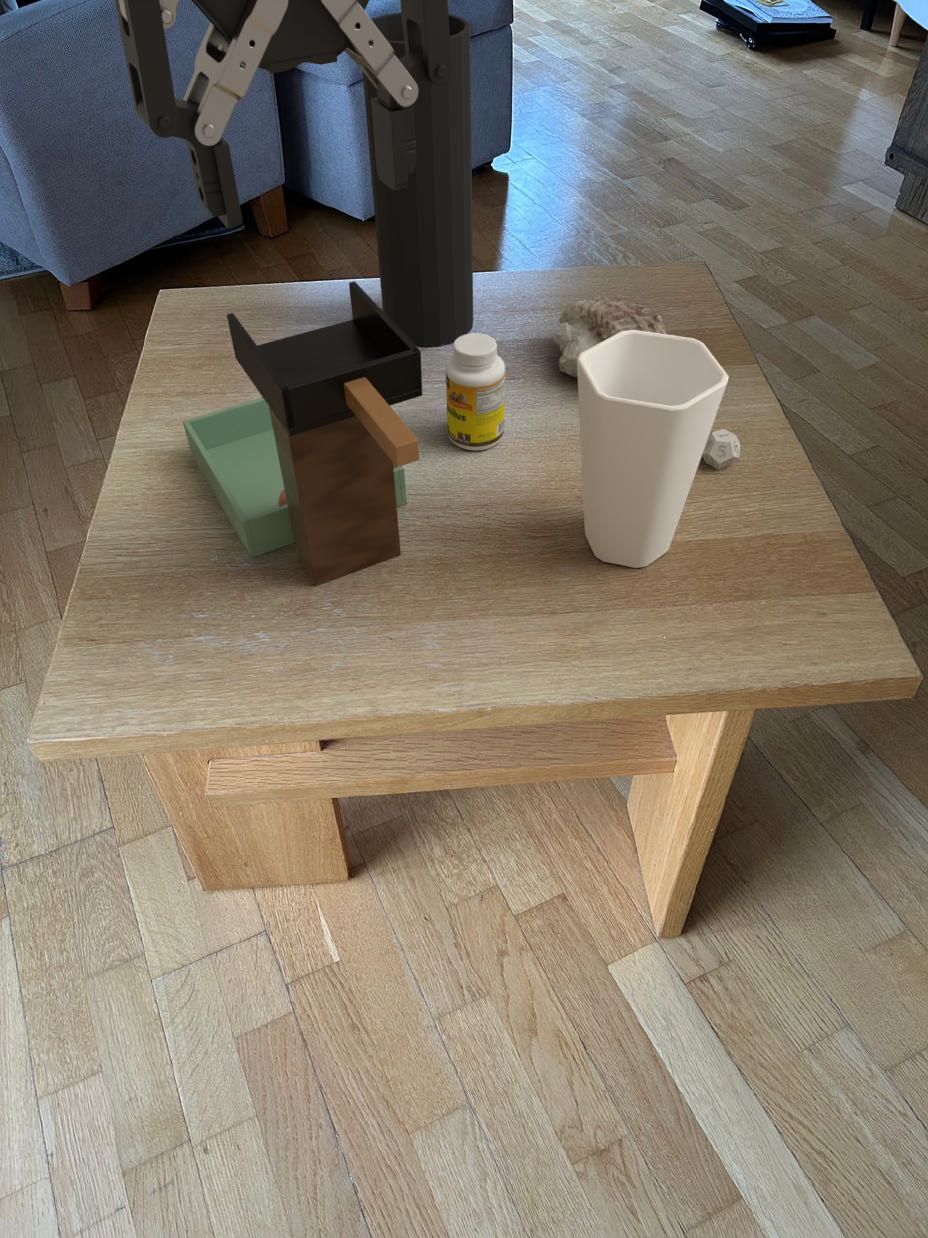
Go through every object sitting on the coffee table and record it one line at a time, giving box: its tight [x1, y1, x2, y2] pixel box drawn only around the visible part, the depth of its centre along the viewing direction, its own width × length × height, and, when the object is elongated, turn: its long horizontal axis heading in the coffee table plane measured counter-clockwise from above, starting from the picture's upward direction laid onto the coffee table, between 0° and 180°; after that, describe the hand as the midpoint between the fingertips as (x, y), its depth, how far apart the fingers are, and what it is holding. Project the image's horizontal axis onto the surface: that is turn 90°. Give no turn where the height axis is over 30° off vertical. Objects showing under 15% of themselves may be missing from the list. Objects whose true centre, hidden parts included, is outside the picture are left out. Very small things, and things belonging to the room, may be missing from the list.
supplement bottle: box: [445, 332, 506, 451], centre depth 90 cm, size 6×6×10 cm
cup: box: [577, 330, 730, 569], centre depth 77 cm, size 11×10×17 cm
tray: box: [182, 397, 408, 558], centre depth 88 cm, size 15×17×4 cm
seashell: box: [553, 295, 667, 378], centre depth 100 cm, size 14×9×10 cm
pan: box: [226, 280, 423, 467], centre depth 65 cm, size 10×19×4 cm, turn 28°
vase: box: [362, 11, 474, 348], centre depth 99 cm, size 10×10×30 cm
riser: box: [269, 407, 402, 587], centre depth 76 cm, size 8×4×18 cm, turn 118°
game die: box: [701, 428, 741, 470], centre depth 90 cm, size 4×4×3 cm
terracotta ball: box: [278, 489, 287, 507], centre depth 84 cm, size 3×3×3 cm
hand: (313, 201), depth 46 cm, fingers open, 8 cm apart
